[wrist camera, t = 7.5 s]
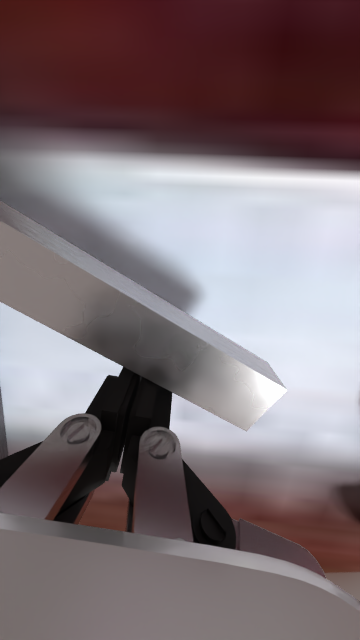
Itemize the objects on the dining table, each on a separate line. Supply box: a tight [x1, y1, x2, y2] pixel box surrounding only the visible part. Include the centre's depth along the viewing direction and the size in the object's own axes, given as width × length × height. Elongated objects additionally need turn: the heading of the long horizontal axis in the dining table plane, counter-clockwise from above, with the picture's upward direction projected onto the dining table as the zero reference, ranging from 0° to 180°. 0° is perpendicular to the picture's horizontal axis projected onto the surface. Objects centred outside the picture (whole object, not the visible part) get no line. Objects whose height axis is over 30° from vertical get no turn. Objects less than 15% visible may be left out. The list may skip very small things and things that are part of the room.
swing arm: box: [0, 201, 287, 431], centre depth 8 cm, size 24×4×4 cm, turn 58°
